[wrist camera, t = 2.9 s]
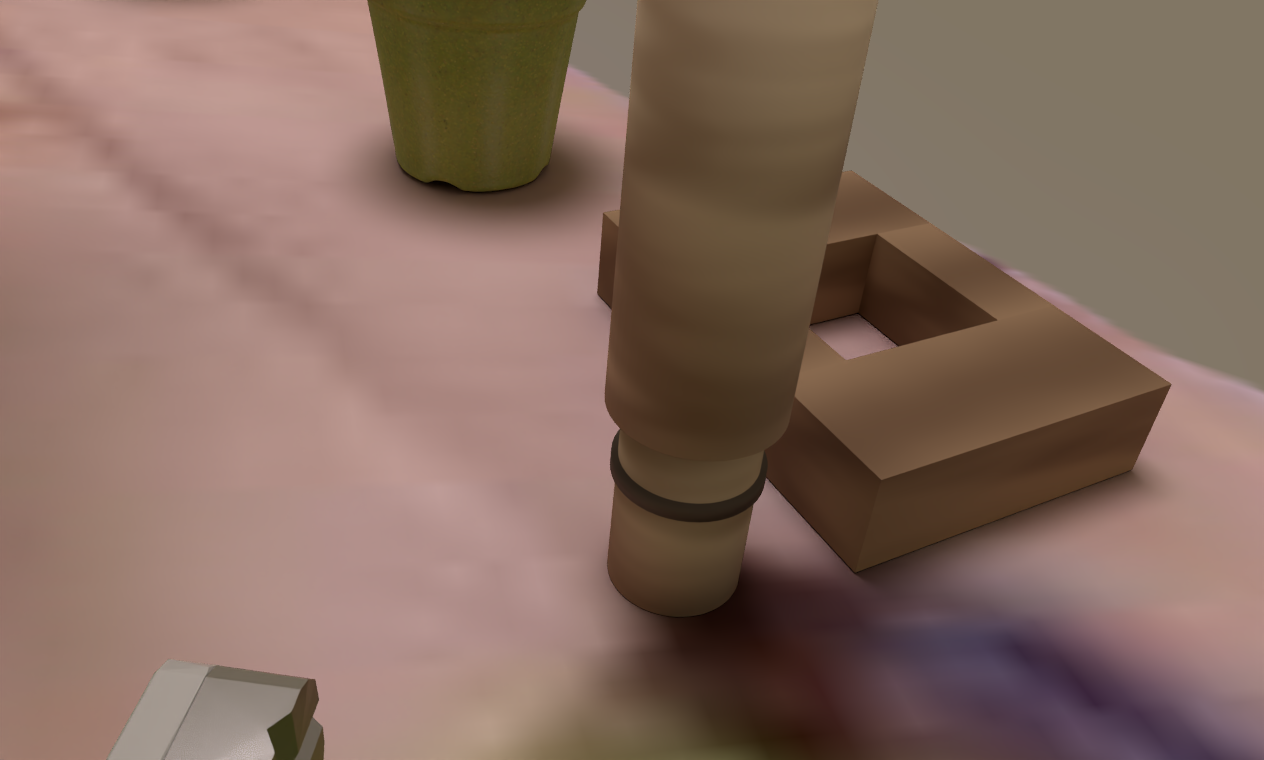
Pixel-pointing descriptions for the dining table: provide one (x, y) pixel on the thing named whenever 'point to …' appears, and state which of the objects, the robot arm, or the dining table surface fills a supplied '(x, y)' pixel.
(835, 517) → the brown wooden frame
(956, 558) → the dining table surface
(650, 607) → the peg
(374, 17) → the plant pot
